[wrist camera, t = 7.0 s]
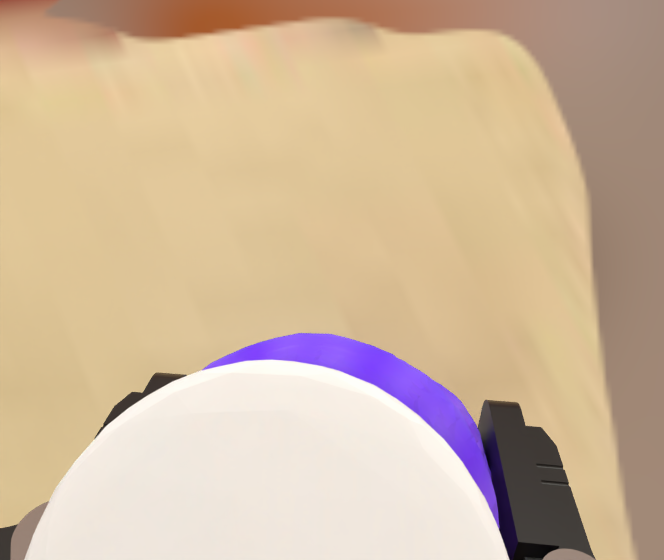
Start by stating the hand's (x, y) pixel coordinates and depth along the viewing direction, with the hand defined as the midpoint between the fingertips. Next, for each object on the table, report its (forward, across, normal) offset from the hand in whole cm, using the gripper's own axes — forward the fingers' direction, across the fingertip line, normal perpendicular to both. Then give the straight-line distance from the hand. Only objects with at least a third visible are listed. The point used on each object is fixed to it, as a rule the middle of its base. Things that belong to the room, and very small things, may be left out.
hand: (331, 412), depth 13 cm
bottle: (+5, 0, +7) cm, 9 cm away
